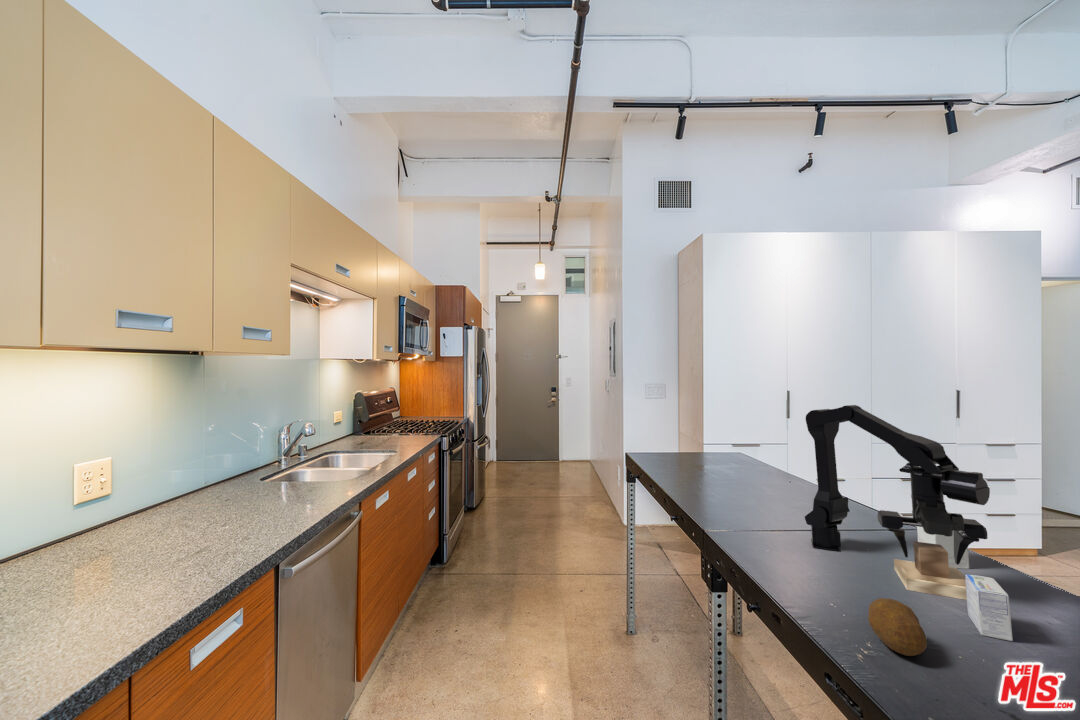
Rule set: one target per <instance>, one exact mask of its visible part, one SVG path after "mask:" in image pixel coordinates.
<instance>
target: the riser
mask: <svg viewBox="0 0 1080 720" xmlns="http://www.w3.org/2000/svg"><path fill="white" fill-rule="evenodd" d="M893 565H894V566H893V568H894V571H895V572H896V575H898V577H899V579H900V581H901V582H902V584H903V586H904V587H905V589H906V591H912V592H918V593H923V594H930V595H935V596H936V595H937V596H941V597H942V596H943V597H948V598H952V599H953V598H955V599H960V600H965V601H967V595H966V583H965V575H964V573H962V572H961V571H960V570H959V568H954V567H949V578H950V579H947V578H940V577H933V576H927V575H921V574H920V572H919V571H918V570H917V568H916V567H915V561H911V560H905V559H904V560H903V559H896V558H893Z"/></svg>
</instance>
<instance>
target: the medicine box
mask: <svg viewBox="0 0 1080 720" xmlns="http://www.w3.org/2000/svg"><path fill="white" fill-rule="evenodd" d="M964 576H965V583H966V595H967V600H966V607H967V609H966V610H967V615H968V617H969V619H970V620H971V621H972V623H973V625H974V626H975V628H976V629H977V630H978V632H979V634H980V635H981V636H984V637H989V638H993V639H998V640H1002V641H1003V640H1004V641H1009V642H1013V641H1014V640H1013V638H1014V637H1013V630H1012V619H1011V616H1012V615H1011V608H1010V596H1009V594H1008V593H1007V591H1005V590H1004V588H1002V586H1001V585H1000V584H999V583H998V582H997V581H996V579H994V577H993V578H992V577H989V576H988V577H987V576H982V575H978V574H977V575H976V574H965V575H964Z"/></svg>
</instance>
